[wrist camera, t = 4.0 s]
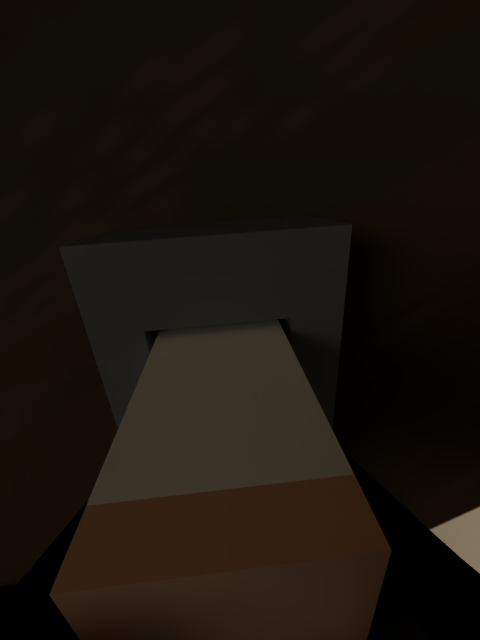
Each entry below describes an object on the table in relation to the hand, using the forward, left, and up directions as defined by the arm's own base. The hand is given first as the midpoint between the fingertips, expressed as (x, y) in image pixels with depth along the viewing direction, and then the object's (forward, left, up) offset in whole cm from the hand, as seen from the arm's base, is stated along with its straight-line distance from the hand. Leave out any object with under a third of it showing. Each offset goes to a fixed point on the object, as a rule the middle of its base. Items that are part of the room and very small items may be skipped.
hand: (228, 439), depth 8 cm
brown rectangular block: (0, 0, -5) cm, 5 cm away
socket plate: (0, -5, -6) cm, 8 cm away
